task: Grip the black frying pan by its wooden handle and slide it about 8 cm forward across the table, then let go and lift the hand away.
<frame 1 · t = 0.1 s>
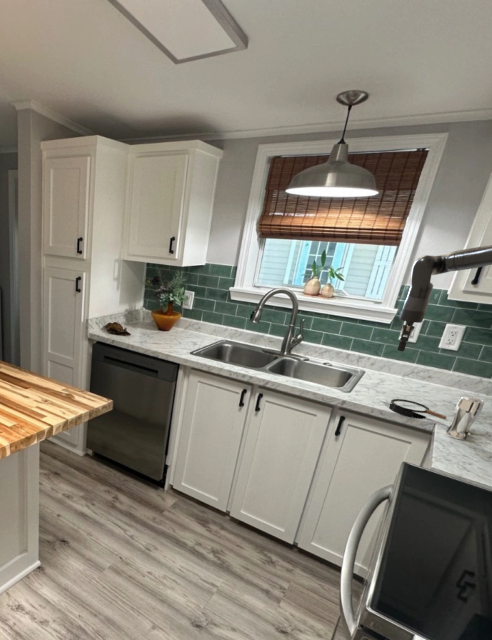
hand: (401, 349, 165), 26 cm above the table, tool pointing down, fingers open, 8 cm apart
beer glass: (455, 436, 152), on the table
frying pan: (407, 413, 171), on the table
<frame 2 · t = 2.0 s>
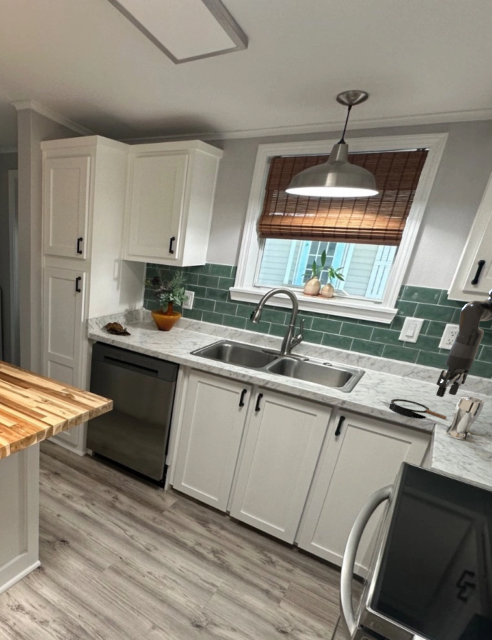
hand: (445, 395, 157), 12 cm above the table, tool pointing down, fingers open, 8 cm apart
nothing on the table moved.
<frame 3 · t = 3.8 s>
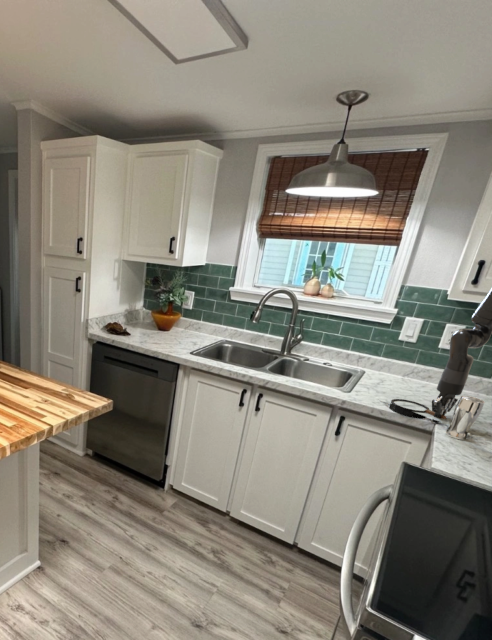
hand: (436, 421, 161), 1 cm above the table, tool pointing down, fingers closed on frying pan
frying pan: (407, 413, 171), on the table, touching gripper
everything else where it was.
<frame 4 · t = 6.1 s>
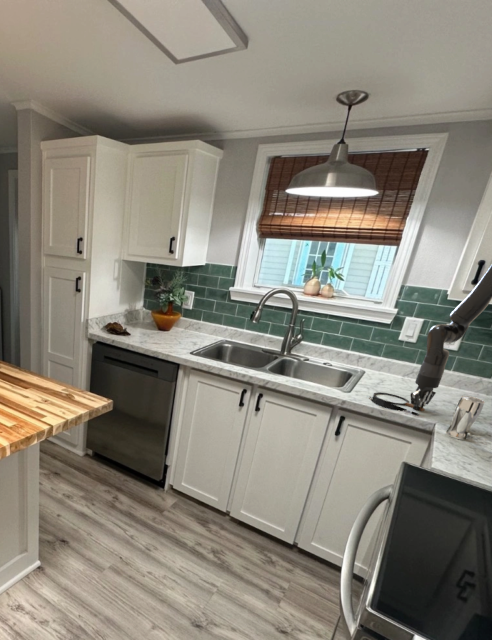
hand: (415, 414, 168), 1 cm above the table, tool pointing down, fingers closed on frying pan
frying pan: (388, 406, 178), on the table, touching gripper
everything else where it was.
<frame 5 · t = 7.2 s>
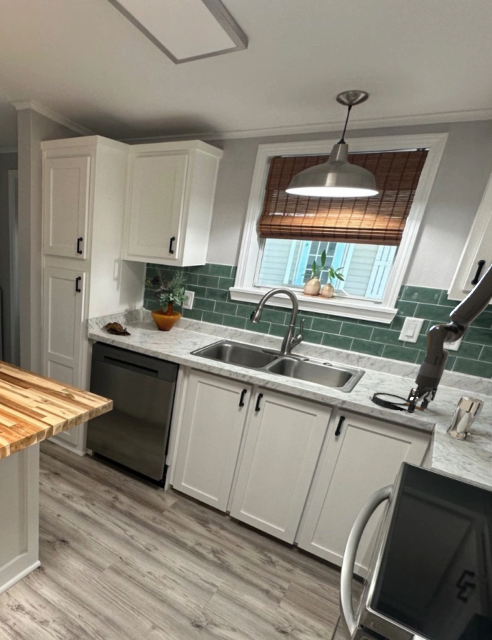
hand: (416, 411, 168), 2 cm above the table, tool pointing down, fingers open, 8 cm apart
frying pan: (388, 406, 178), on the table
everything else where it was.
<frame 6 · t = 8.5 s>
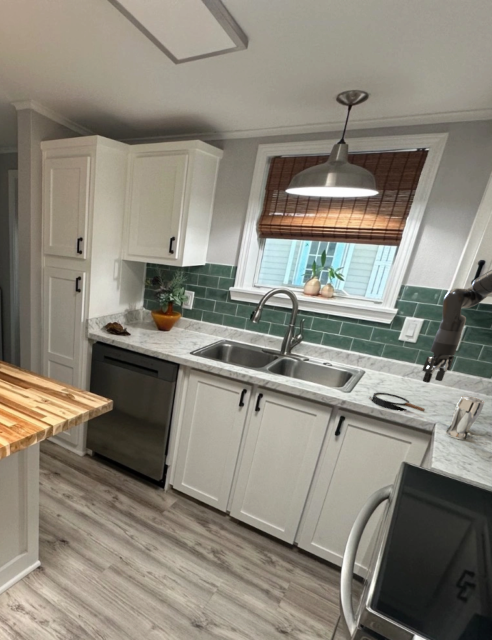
hand: (432, 381, 163), 16 cm above the table, tool pointing down, fingers open, 8 cm apart
nothing on the table moved.
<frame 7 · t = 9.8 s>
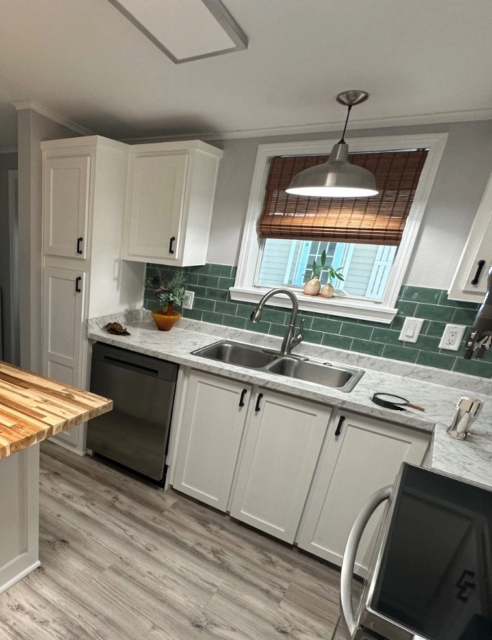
hand: (473, 358, 158), 26 cm above the table, tool pointing down, fingers open, 8 cm apart
nothing on the table moved.
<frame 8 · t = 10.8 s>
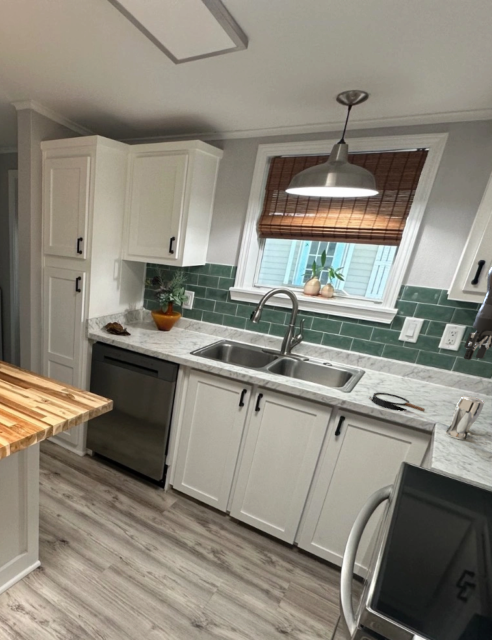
hand: (473, 358, 158), 26 cm above the table, tool pointing down, fingers open, 8 cm apart
nothing on the table moved.
at the end: frying pan 0.2 cm from the target spot, on the table; frying pan moved 7.8 cm from its start; frying pan tilted 0° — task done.
